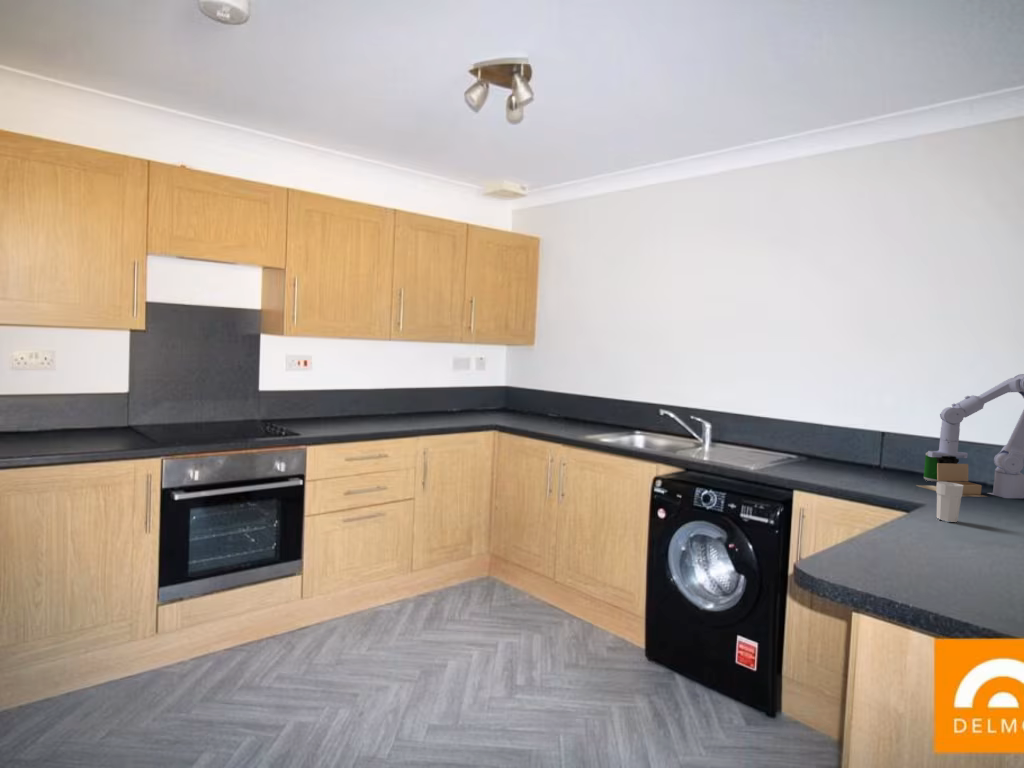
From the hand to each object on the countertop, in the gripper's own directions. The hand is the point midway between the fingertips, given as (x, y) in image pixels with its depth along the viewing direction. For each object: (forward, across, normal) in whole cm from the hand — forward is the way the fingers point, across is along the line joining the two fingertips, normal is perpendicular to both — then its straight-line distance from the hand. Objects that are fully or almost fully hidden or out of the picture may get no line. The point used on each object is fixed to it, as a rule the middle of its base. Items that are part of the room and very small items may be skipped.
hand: (945, 477), depth 239 cm
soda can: (+5, -10, -16) cm, 19 cm away
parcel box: (+4, 0, +6) cm, 8 cm away
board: (+5, 0, +3) cm, 6 cm away
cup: (+5, +37, +42) cm, 56 cm away
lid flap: (-2, 0, +3) cm, 4 cm away
